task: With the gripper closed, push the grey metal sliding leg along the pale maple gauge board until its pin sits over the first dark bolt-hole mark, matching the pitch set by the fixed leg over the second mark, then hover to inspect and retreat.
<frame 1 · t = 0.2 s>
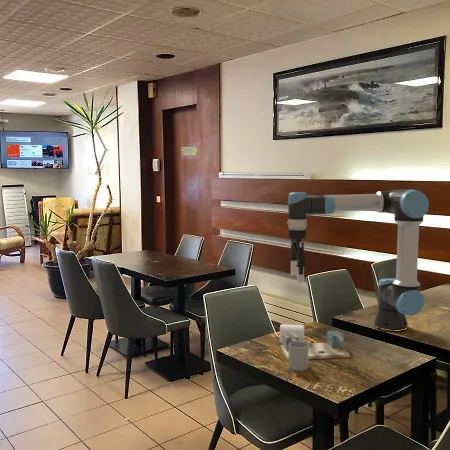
hand: (297, 278, 207), 28 cm above the table, fingers open, 13 cm apart
gauge board: (313, 352, 197), on the table
cup: (296, 366, 183), on the table
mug: (292, 342, 210), on the table
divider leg: (337, 340, 199), point 4 cm above the table, slide at -10.0 cm
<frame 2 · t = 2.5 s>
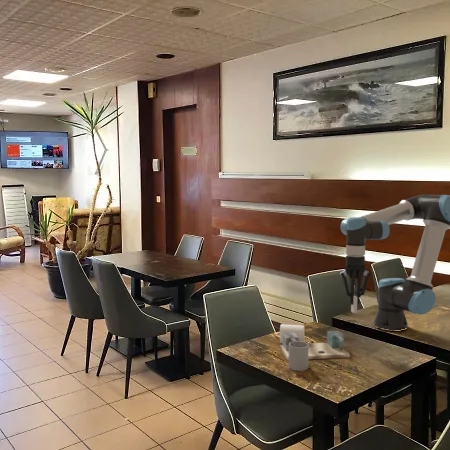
hand: (354, 312, 200), 15 cm above the table, fingers closed
nothing on the table moved.
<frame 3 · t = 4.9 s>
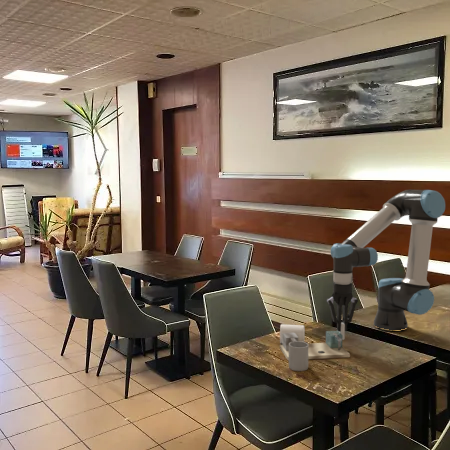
hand: (341, 338, 201), 4 cm above the table, fingers closed
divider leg: (335, 340, 199), point 4 cm above the table, slide at -9.4 cm, touching gripper
everything else where it was.
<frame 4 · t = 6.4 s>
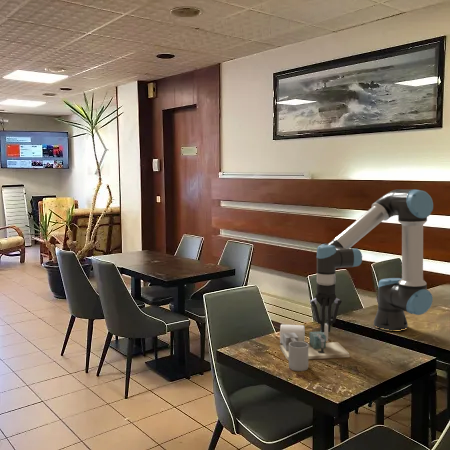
hand: (325, 339, 200), 4 cm above the table, fingers closed
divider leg: (319, 341, 198), point 4 cm above the table, slide at -2.4 cm, touching gripper
everything else where it was.
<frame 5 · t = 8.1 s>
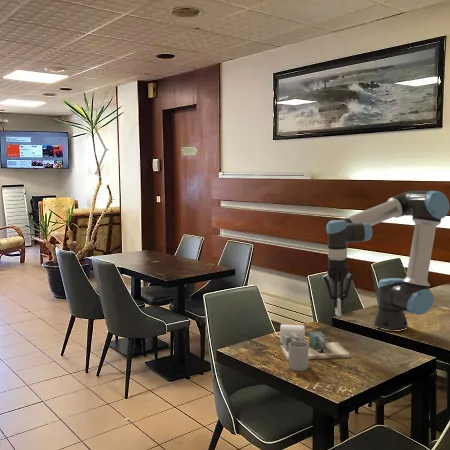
hand: (338, 315, 200), 14 cm above the table, fingers closed
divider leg: (318, 341, 198), point 4 cm above the table, slide at -2.3 cm
everything else where it was.
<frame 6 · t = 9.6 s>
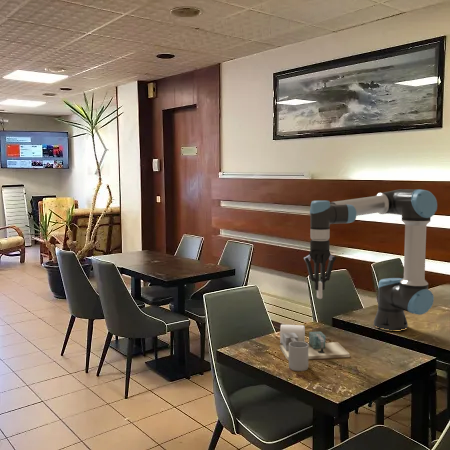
hand: (319, 297, 195), 22 cm above the table, fingers closed
nothing on the table moved.
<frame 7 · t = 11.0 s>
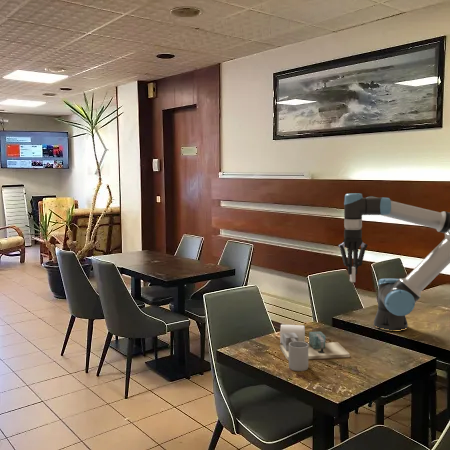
hand: (352, 281, 216), 24 cm above the table, fingers closed
nothing on the table moved.
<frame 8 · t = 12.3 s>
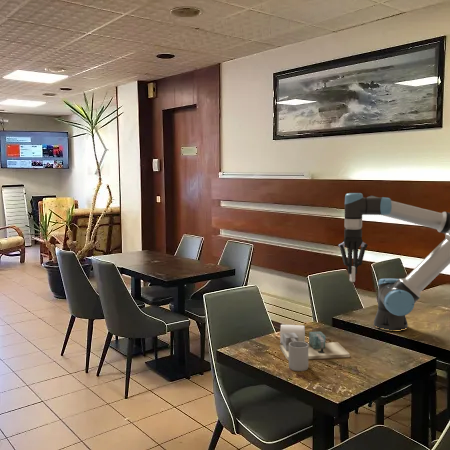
hand: (352, 281, 216), 24 cm above the table, fingers closed
nothing on the table moved.
at the end: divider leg slide at -2.3 cm; the gripper is holding nothing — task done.
